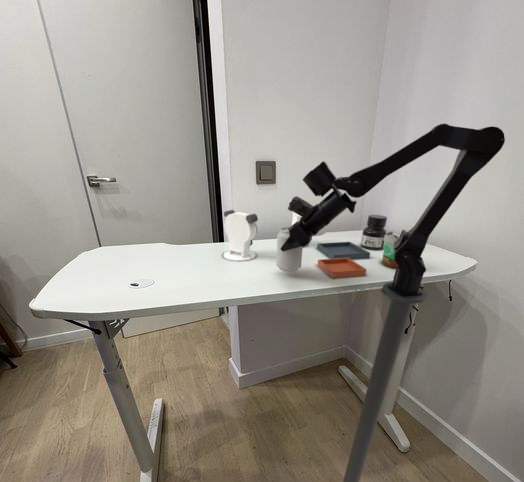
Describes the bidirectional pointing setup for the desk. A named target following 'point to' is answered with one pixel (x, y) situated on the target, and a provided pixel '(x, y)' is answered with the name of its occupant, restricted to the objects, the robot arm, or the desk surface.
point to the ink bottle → (374, 232)
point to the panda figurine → (240, 235)
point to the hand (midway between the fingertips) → (285, 246)
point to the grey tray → (342, 250)
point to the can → (287, 253)
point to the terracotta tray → (341, 267)
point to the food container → (389, 250)
